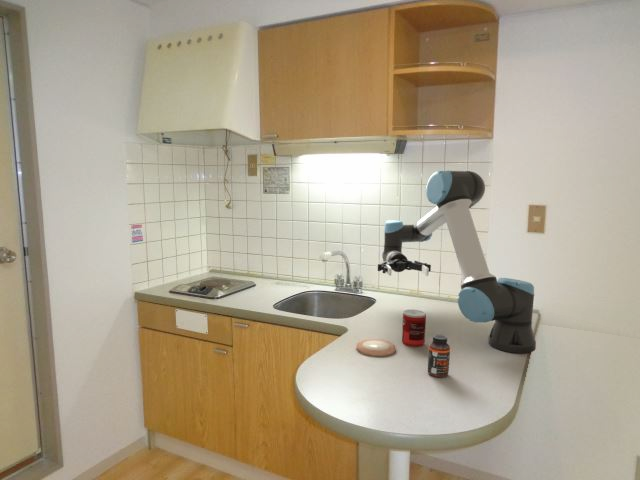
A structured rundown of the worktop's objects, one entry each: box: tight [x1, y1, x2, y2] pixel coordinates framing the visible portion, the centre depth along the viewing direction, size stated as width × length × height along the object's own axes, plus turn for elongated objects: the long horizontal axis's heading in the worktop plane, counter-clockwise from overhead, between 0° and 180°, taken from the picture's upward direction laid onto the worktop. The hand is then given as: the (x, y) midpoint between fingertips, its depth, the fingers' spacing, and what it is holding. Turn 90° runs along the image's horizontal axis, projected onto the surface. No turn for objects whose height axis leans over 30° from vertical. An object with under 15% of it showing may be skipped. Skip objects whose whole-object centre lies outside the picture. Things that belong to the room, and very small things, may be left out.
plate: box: [355, 338, 397, 357], centre depth 156 cm, size 13×13×1 cm
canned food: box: [401, 309, 427, 348], centre depth 161 cm, size 8×8×11 cm
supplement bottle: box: [427, 334, 451, 378], centre depth 136 cm, size 6×6×11 cm
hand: (409, 272), depth 169 cm, fingers open, 13 cm apart
